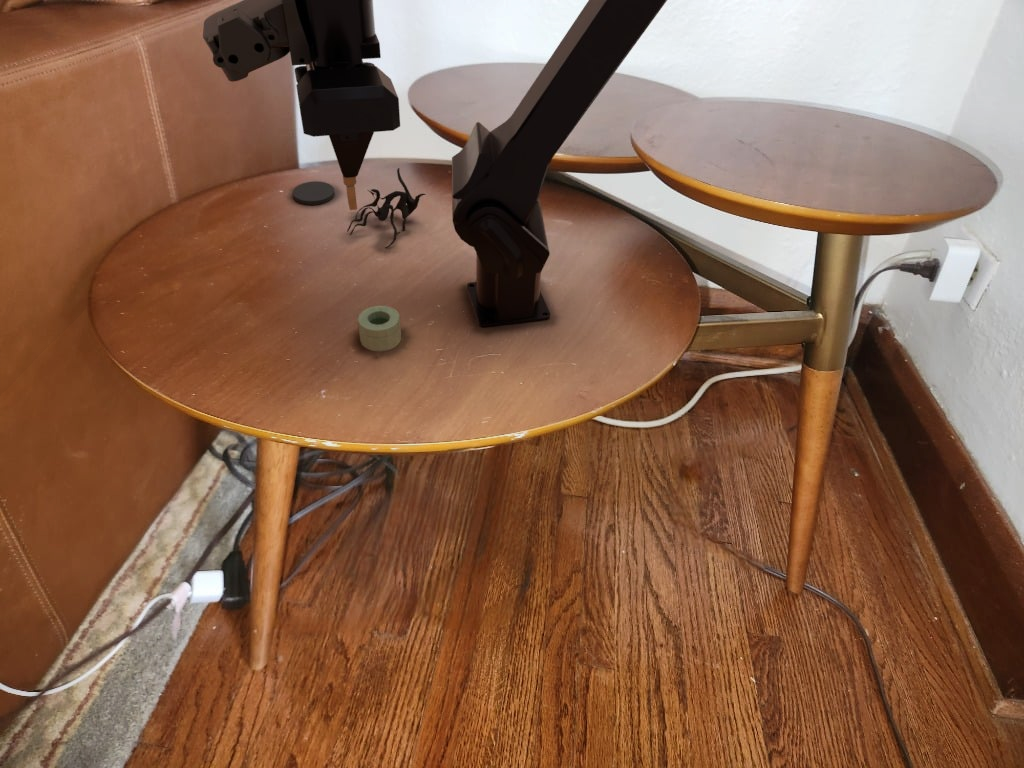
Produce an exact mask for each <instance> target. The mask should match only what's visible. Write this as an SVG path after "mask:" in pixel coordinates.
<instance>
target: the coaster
mask: <svg viewBox="0 0 1024 768" xmlns="http://www.w3.org/2000/svg"><path fill="white" fill-rule="evenodd" d="M335 195H336V194H335V188H334V187H333V185H331V184H330V183H327V182H325V181H317V180H315V181H307V182H304V183H301V184H298V185H296V186H295V187H294V188H293V190H292V199H294V201H295V202H296V203H299V204H302V205H306V206H317V205H318V206H319V205H322V204H326V203H328V202H330V201H331V200H333V198H334V197H335Z"/></svg>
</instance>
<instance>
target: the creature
mask: <svg viewBox="0 0 1024 768" xmlns="http://www.w3.org/2000/svg"><path fill="white" fill-rule="evenodd" d="M400 170H401V169H400V168H399V167H398V168H397V169H396V174H397V175H396V176H397V179H398V181H399V183H400V184H401V186H402V187H403V190H404V191H401V190H400V191H399V190H395V191H392V192H390V193H388V194H386V195H385V196H384V197H381V193H380V191H379V189H375V188H372V189H370V190H369V189H367V191H368V192H369V194H371V195H372V197H373V199H374V201H372V202H371V203H368V204H366V205H363V206H362V207H361V208H359V209H358V211H357V212H356V214H355V216H354V219H353V220H351V222H350V223H349V225H348V227H347V230H346V232H349V231H350V229H351V227H352V224H353V223H354V222H358V223H356V224H354V226H353V228H352V230H351V231H350V233H349V236H351V235H352V234H353V233H354V230H355V228H356V227H358V226H359V227H366V226H367V221H368V218H369V215H371V214H374V216H375V217H376V218H377V219H378V220H379V221H381V222H384V221H386V220H387V219H388V216H389V219H390V225H391V226H392V230H393V239H392V241H391V242H390V244H389V245H386V246H385V247H384V249H388V248H390V247H391V246H393V244H394V243H395V242H396V240H397V235H398V234H400V233H401V232H406V221H407V218H408V217H409V216H410V215H411V214H412V213H413V212H414V211H415V210H416V209H417V208H418V206H419V201H420V198H421V197H422V196H426V195H427V194H426V193H419V194H418V195H416V196H415V197H414V198H413V196H412V195H411V193H410V191H409V188H408V187H407V184H406V183H405V182H404V180H403V178H402V176H401V171H400ZM374 195H375V196H376V198H375V196H374ZM397 197H399V199H398V202H397V203H396V205H395V207H394V205H393V204H391V203H392V201H393V200H394V199H395V198H397ZM380 200H383V201H384V202H383V204H382V205H381V207H379V204H378V203H379V201H380ZM372 207H373V208H375V207H376V208H377V210H375V209H373V208H372ZM368 209H370V211H368V212H367V213H366V211H367V210H368ZM396 210H399V211H400V212H401V218H402V219H403V222H402V223H401V224H402V225H401V231H398V229H397V227H396V225H395V223H394V217H395V216H394V215H395V211H396ZM359 212H361V213H360V216H359V218H357V216H358V214H359ZM389 214H390V215H389ZM362 221H363V222H362ZM359 222H360V223H359Z"/></svg>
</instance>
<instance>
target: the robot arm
mask: <svg viewBox="0 0 1024 768" xmlns="http://www.w3.org/2000/svg"><path fill="white" fill-rule="evenodd" d="M667 1H668V0H588V1H587V2H586V4H585V5H584V6H583V8H582V10H581V11H580V13H579V14H578V15H577V17H576V18H575V20H574V21H573V23H572V24H571V26H570V28H569V29H568V30H567V32H566V34H565V35H564V36H563V38H562V39H561V41H560V43H559V44H558V45H557V46H556V48H555V50H554V52H553V53H552V54H551V56H550V57H549V59H548V60H547V61H546V63H545V65H544V66H543V68H542V69H541V71H540V72H539V74H538V75H537V77H536V78H535V80H534V82H533V83H532V84H531V86H530V87H529V89H528V90H527V91H526V94H524V96H523V98H522V99H521V101H519V104H518V105H517V107H516V108H515V110H514V111H513V113H512V114H511V115H510V117H509V118H507V120H505V121H504V122H503V123H500V124H499V125H498V126H497V127H494V129H492V130H489V129H488V128H486V127H485V126H484V125H483V124H482V123H481V122H480V121H478V122H476V123H475V124H474V126H473V128H472V130H471V132H470V135H469V137H468V139H467V142H466V143H465V145H464V146H463V147H462V148H461V150H460V151H459V152H458V153H455V155H453V156H451V208H452V209H451V211H452V216H451V217H452V225H453V228H454V231H455V232H456V234H457V235H458V237H459V239H460V240H461V241H463V242H464V243H465V244H467V245H468V246H470V247H472V248H473V249H474V250H475V253H476V254H475V255H476V256H475V257H476V258H475V259H476V263H475V267H476V268H475V273H476V274H475V281H472V282H468V283H466V292H467V295H468V298H469V301H470V303H471V306H472V309H473V312H474V316H475V318H476V319H475V320H476V321H477V324H478V327H480V328H482V329H488V328H489V329H490V328H496V327H505V326H512V325H520V324H528V323H538V322H546V321H549V320H550V319H551V314H552V313H551V311H550V308H549V307H548V305H547V302H546V301H545V298H544V296H543V294H542V292H541V282H542V281H541V280H542V271H543V269H544V267H545V265H546V263H547V261H548V259H549V257H550V247H549V241H548V238H547V237H548V236H547V232H546V227H545V222H544V216H543V209H542V205H541V201H540V199H539V197H540V194H541V191H542V187H543V186H544V185H543V184H544V182H545V179H546V176H547V172H548V170H549V166H550V164H551V162H552V160H553V158H554V157H555V155H556V154H557V152H558V151H559V150H560V148H561V147H562V145H563V144H564V143H565V142H566V140H567V139H568V137H569V136H570V135H571V133H572V132H573V131H574V129H575V128H576V126H577V125H578V124H579V122H580V121H581V120H582V118H583V117H584V115H585V114H586V112H587V111H588V110H589V109H590V107H591V106H592V104H593V103H594V102H595V100H596V99H597V98H598V96H599V95H600V93H601V92H602V90H603V89H604V88H605V86H606V85H607V84H608V82H609V81H610V79H611V78H612V77H613V75H614V74H615V73H616V71H617V70H618V68H620V66H621V64H622V63H623V62H624V61H625V59H626V58H627V56H628V55H629V54H630V52H631V51H632V49H633V48H634V47H635V45H636V44H637V42H639V40H640V39H641V37H642V36H643V34H644V33H645V31H646V30H647V29H648V27H650V24H651V23H652V22H653V21H654V19H655V18H656V17H657V15H658V14H659V12H660V11H661V9H662V8H663V7H664V6H665V4H666V2H667ZM202 27H203V28H202V38H203V40H204V42H205V44H206V46H207V47H208V48H209V50H210V52H211V54H212V62H213V64H214V65H215V66H216V67H217V68H220V69H221V70H222V72H223V73H224V75H225V77H226V78H227V80H228V81H229V82H231V83H234V82H238V81H241V80H244V79H246V78H248V76H249V74H250V73H252V72H254V71H256V70H258V69H261V68H263V67H265V66H267V65H269V64H272V63H274V62H277V61H279V60H281V59H283V58H284V57H286V56H287V55H288V54H289V55H290V61H291V66H296V67H295V68H294V75H295V82H296V83H297V84H296V86H295V87H296V93H297V99H298V107H299V111H300V119H301V126H302V132H303V134H304V135H306V136H310V137H313V138H314V137H326V136H328V138H329V139H330V140H329V141H330V143H331V146H332V148H333V152H334V154H335V157H336V160H337V163H338V166H339V169H340V171H341V175H342V178H343V177H345V178H350V177H356V178H357V177H358V176H359V172H360V171H361V168H362V165H363V163H364V160H365V157H366V154H367V152H368V149H369V146H370V143H371V141H372V138H373V136H374V134H375V133H379V132H380V133H381V132H392V131H395V130H397V129H398V128H400V127H401V116H400V101H399V100H400V99H399V96H398V93H397V91H396V89H395V86H394V83H393V81H392V78H390V76H388V75H387V74H385V72H384V71H383V70H382V69H380V68H379V67H378V66H376V64H374V63H373V62H369V61H368V62H367V61H365V62H364V61H363V60H372V59H381V44H380V40H379V38H378V35H377V33H376V26H375V12H374V0H241V1H238V2H237V3H235V4H232V5H230V6H228V7H226V8H223V9H221V10H219V11H216V12H214V13H213V14H211V15H209V16H208V17H206V18H205V19H204V21H203V26H202Z"/></svg>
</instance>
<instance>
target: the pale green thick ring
mask: <svg viewBox="0 0 1024 768" xmlns="http://www.w3.org/2000/svg"><path fill="white" fill-rule="evenodd" d="M357 326H358V334H359V342H360V344H361V346H362V347H364V349H366V350H369V351H373V352H387V351H390V350H392V349H394V348H396V347H397V346H398V345H399V344H400V342H401V340H402V330H401V329H402V328H401V316H400V313H398V311H397V310H396V309H395V308H393V307H391V306H388V305H382V304H381V305H373V306H370V307H367V308H365V309H363V310H362V311H361V312H360V313H359V314H358V318H357Z"/></svg>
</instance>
